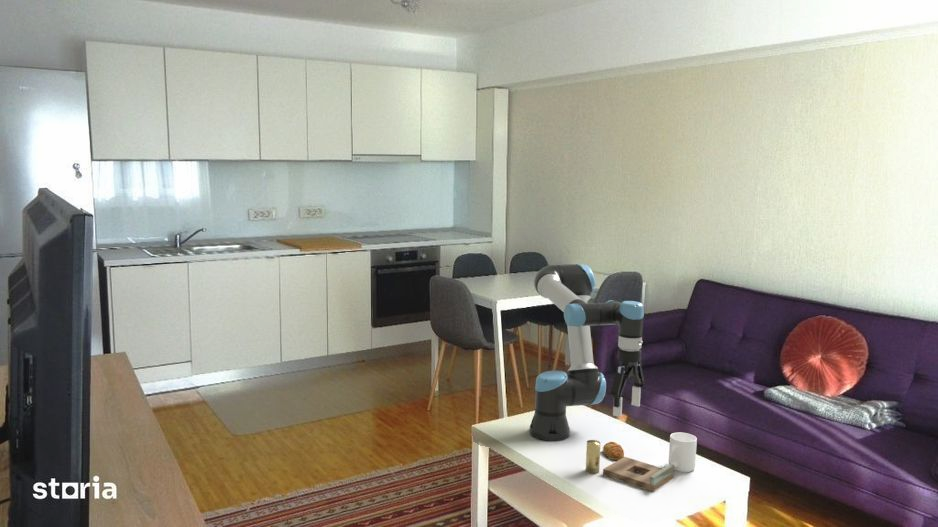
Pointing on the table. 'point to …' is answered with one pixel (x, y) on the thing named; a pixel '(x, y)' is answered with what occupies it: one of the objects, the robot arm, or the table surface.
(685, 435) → the mug
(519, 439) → the table surface
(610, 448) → the pastry
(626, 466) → the jig
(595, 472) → the brass cylinder rod
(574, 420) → the table surface
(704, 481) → the table surface
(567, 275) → the robot arm
